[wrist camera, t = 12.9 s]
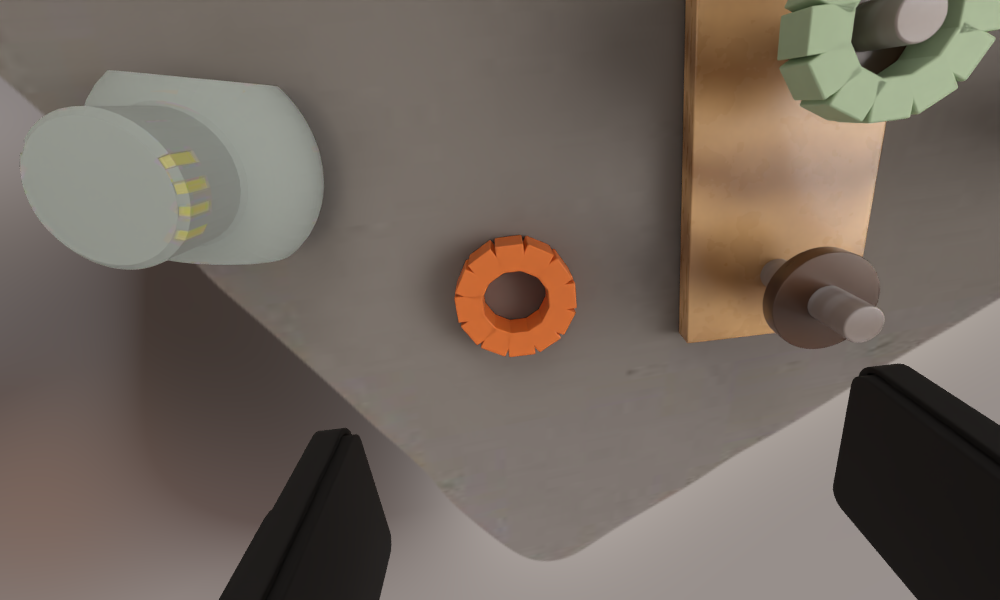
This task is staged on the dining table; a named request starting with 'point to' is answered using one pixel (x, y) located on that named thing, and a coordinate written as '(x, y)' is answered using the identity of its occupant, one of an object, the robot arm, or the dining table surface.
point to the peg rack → (779, 180)
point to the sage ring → (897, 89)
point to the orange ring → (525, 331)
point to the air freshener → (175, 172)
